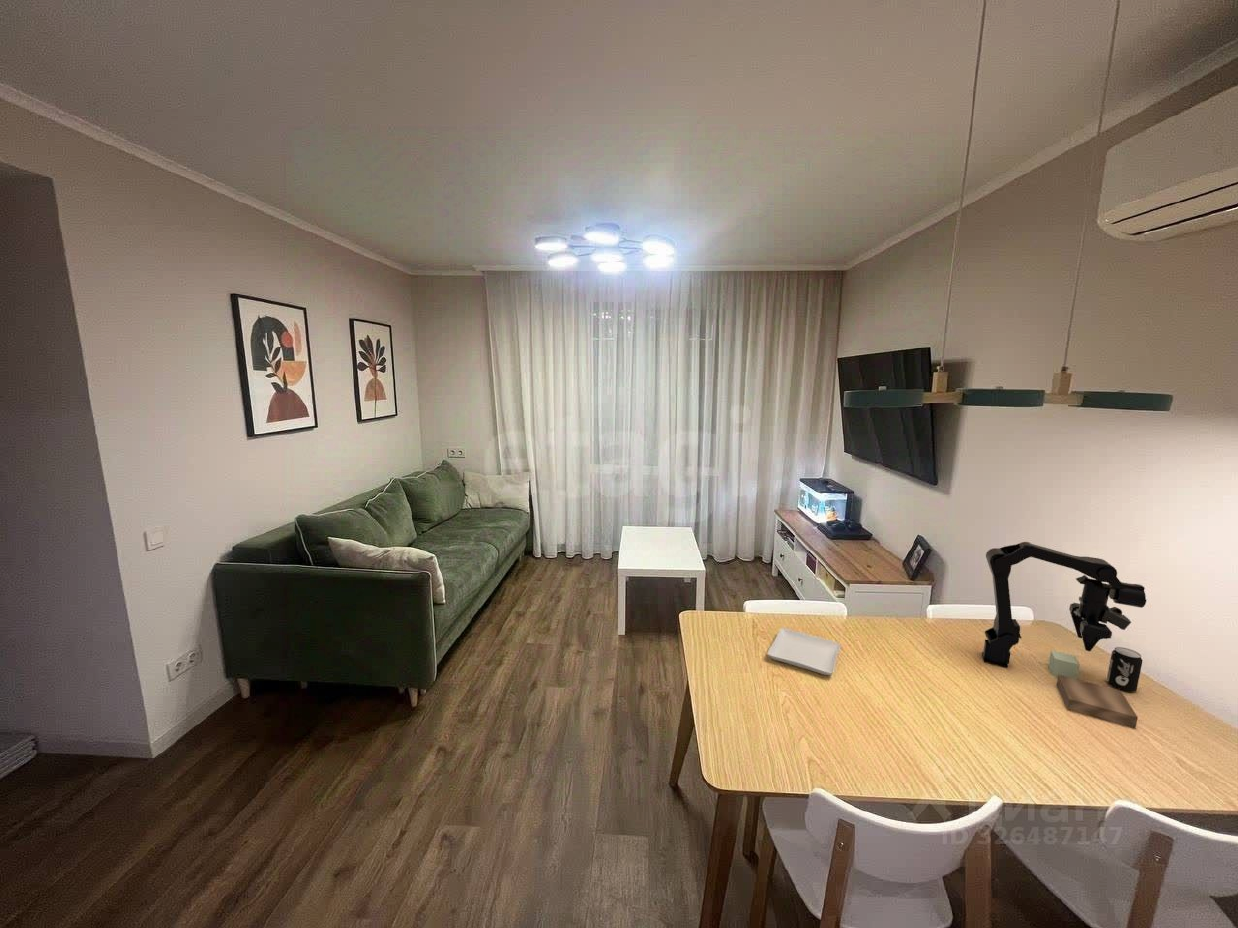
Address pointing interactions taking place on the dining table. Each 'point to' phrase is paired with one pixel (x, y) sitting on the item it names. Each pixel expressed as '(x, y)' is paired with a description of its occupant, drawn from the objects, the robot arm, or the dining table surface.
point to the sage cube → (1063, 665)
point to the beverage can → (1124, 669)
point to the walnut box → (1096, 701)
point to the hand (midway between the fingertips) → (1083, 644)
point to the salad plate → (805, 651)
